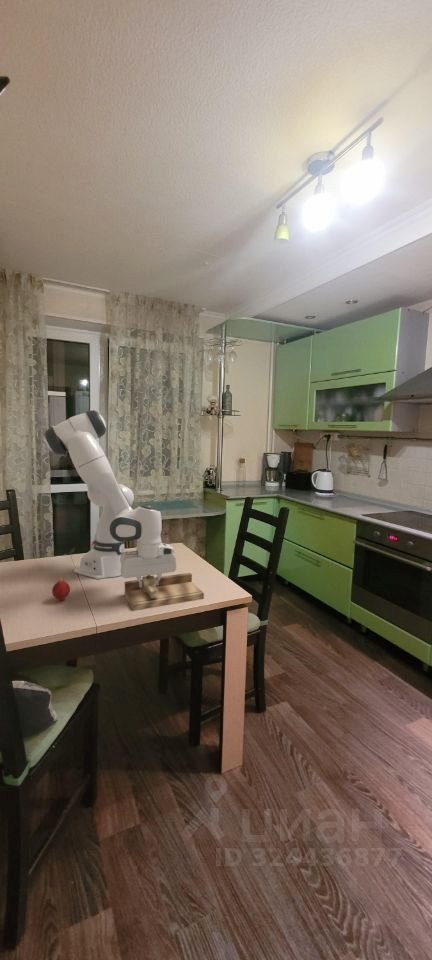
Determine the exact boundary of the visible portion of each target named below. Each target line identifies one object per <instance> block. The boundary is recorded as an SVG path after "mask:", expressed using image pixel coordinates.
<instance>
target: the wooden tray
mask: <svg viewBox="0 0 432 960" xmlns="http://www.w3.org/2000/svg"><path fill="white" fill-rule="evenodd" d="M156 578H157V576H156V577H155V579H156ZM192 580H193V574H192V573H191V572H186V573H179V574H178V573H177V574H172V575H163V576H162V577H161V578H160V580H159V585H156V588H157V589H158V598H151V597H150V596H149V594H148V593H147V592H144V591H143V589H142V588H140V587H139V581H138V580H137V579H136V580H135V579H134V580H129V581H124V596H125V599H126V600H127V601H128V603H129V605H130V606H131V609H132V610H133V611H139V610H145V609H150V608H155V607H161V606H166V605H171V604H172V605H173V604H178V603H183V602H190V601H191V602H192V601H196V600H201V599H202V600H203V599H204V597H205V593H204V591H203V590H201V589H200V588H199V587H198V586H197V585H196V584H195V583H194V582H193V581H192ZM140 581H142V578H141V579H140Z"/></svg>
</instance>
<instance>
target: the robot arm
mask: <svg viewBox="0 0 432 960" xmlns="http://www.w3.org/2000/svg"><path fill="white" fill-rule="evenodd" d="M106 424H107V423H106V420H105V419H104V417H103V415H102V414H100V413H99V412H98V411H97V410H94V409H92V410H88V411H87V410H86V411H85V412H83V413H80V414H76V415H73V416H71V417H69V418H67V419H66V420H64V421H61V422H59V423H58V424H55V426H51V427H49V428H48V429H46V430H45V433H44V441H45V445H46V447H47V448H48V449H49V451H51V452H53V453H54V454H56V455H58V456H68V453H69V457H70V459H71V462H72V465H73V467H74V468H75V470H76V472H77V474H78V475H79V477H80V478H81V480H82V481H83V482H84V483H85V484H86V487H87V494H86V495H87V498H88V500H89V501H90V502H92V503H93V504H94V505H95V506H97V507H102V513H101V516H100V518H99V519H98V520H97V521H96V540H94V541H91V545H92V546H93V547H92V548H91V549H90V550H89V551H88V552H86V553H85V554H84V555H82V557H81V558H80V562H79V563H80V564H79V565H78V566H77V567H75V569H74V572H73V573H76V574H78V575H79V574H80V575H82V576H86V577H89V578H92V579H96V580H100V579H106V578H115V577H120V576H121V577H122V578H123V579H129V578H131V579H132V578H136V580H138V581H139V587H140V588H142V587H144V582H143V581H140V580H141V579H142V577H144V576H147V575H150V576H152V575H153V576H154V575H156V577H157V578H156V577H155V578H156V585H159V580H160V578H161V577H163V576H162V574H167V573H174V572H176V570H177V558H176V555H175V554H174V553H175V549H174V547H173V546H171V545H170V544H168V543H163V542H162V535H161V533H162V529H163V528H162V527H163V525H162V524H163V523H162V513H161V510H160V509H159V508H158V507H157V506H154V505H152V504H140V505H139V506H138V507H136V508H135V507H133V503H134V500H135V495H134V492H133V491H132V489H131V488H130V487H128V486H126V485H125V484H120V483H118V481H117V479H116V476H115V474H114V471H113V469H112V466H111V464H110V461H109V459H108V457H107V456H106V453H105V452H104V450H103V448H102V446H101V445H100V443H99V442H98V441H97V439H101V438H102V437H103V436H104V435H105V434H106V432H107V425H106ZM133 541H136V550H129V551H125V548H126V547H125V546H126V545H125V544H126V542H133Z"/></svg>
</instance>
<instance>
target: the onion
mask: <svg viewBox="0 0 432 960" xmlns="http://www.w3.org/2000/svg"><path fill="white" fill-rule="evenodd" d="M70 592H71V587H70V585H69V583H67V582H66V581H65V580H64V578H60V579H59V580H58V581H57V582H55V584H54V585H53V587H52V588H51V593H52V596H53V598H55V599H56V600H59V601H63V600H65V599H66V598H67V597H68V596H69V594H70Z"/></svg>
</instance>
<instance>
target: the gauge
mask: <svg viewBox="0 0 432 960" xmlns="http://www.w3.org/2000/svg"><path fill="white" fill-rule="evenodd" d="M155 578H156V577H155V576H154V575H147V576H141V579H142V581H143V582H144V587H142V589H143V591H144V592H147V593H148V594H149V596H150V597H151V598H158V589H157V588H156V579H155Z"/></svg>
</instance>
